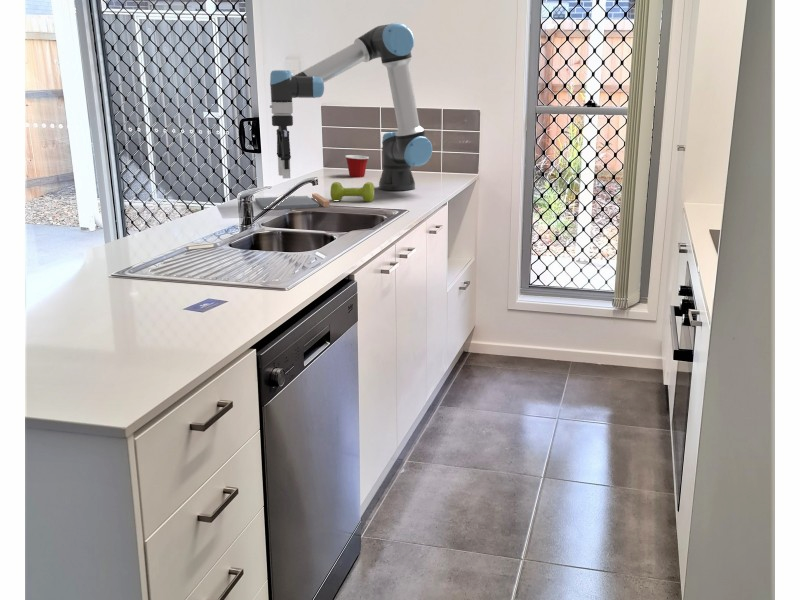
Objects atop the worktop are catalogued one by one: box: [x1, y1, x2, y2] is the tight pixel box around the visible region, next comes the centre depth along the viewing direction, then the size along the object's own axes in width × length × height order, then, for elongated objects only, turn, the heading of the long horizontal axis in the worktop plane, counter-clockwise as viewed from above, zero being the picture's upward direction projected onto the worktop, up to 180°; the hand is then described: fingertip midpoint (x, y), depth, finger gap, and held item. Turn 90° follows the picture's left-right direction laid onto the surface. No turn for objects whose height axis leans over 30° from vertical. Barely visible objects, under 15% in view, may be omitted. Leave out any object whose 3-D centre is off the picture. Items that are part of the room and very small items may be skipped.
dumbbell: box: [330, 181, 375, 203], centre depth 298 cm, size 16×8×7 cm, turn 83°
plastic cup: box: [345, 154, 370, 179], centre depth 358 cm, size 11×11×12 cm
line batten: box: [311, 192, 330, 208], centre depth 295 cm, size 2×24×2 cm, turn 16°
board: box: [254, 195, 320, 210], centre depth 292 cm, size 20×24×1 cm
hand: (284, 176), depth 289 cm, fingers open, 10 cm apart
